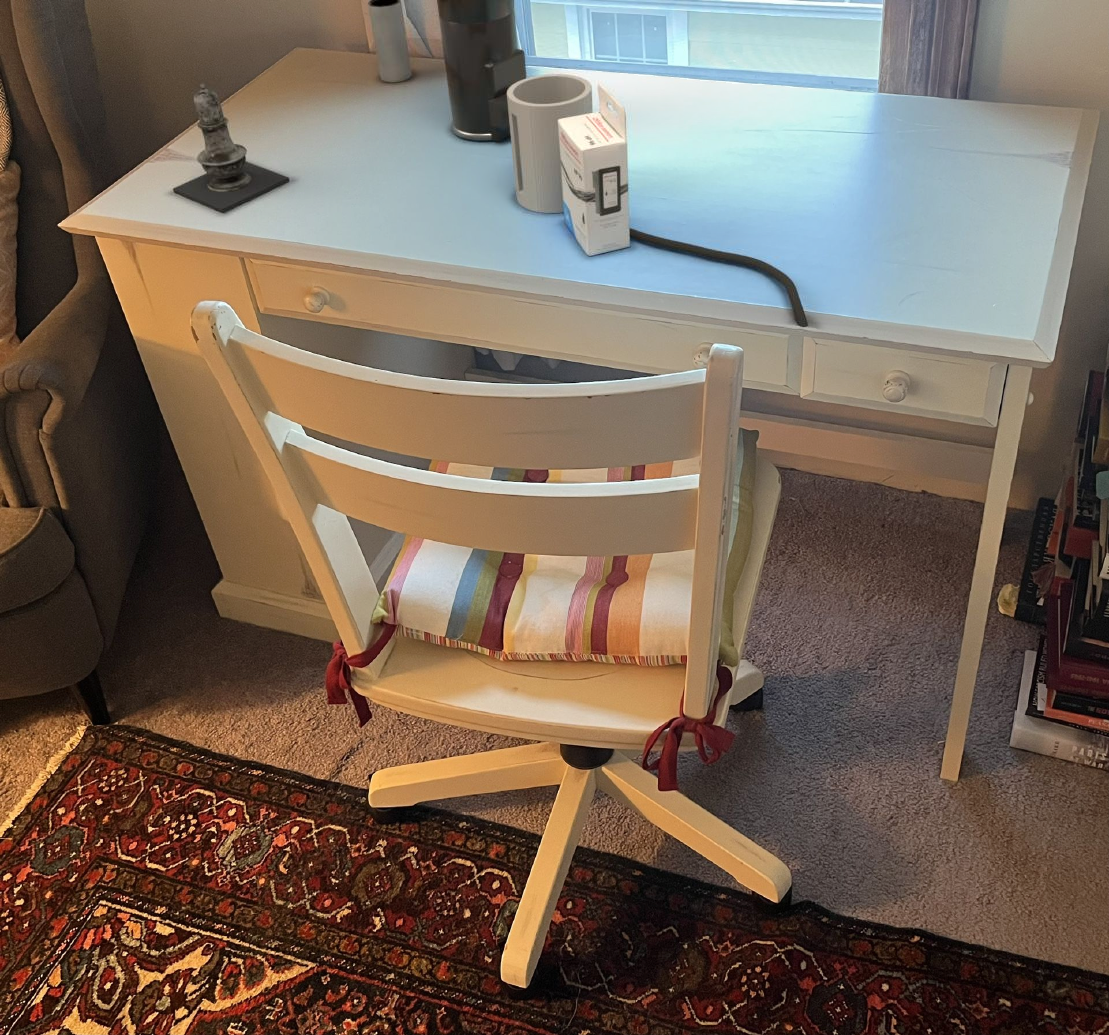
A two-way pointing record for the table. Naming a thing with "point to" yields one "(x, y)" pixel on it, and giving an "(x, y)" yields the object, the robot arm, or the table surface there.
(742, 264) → the robot arm
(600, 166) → the ink box
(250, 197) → the mat
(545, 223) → the table surface
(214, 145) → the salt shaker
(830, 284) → the table surface
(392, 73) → the grey tall cylinder
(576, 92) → the cup
